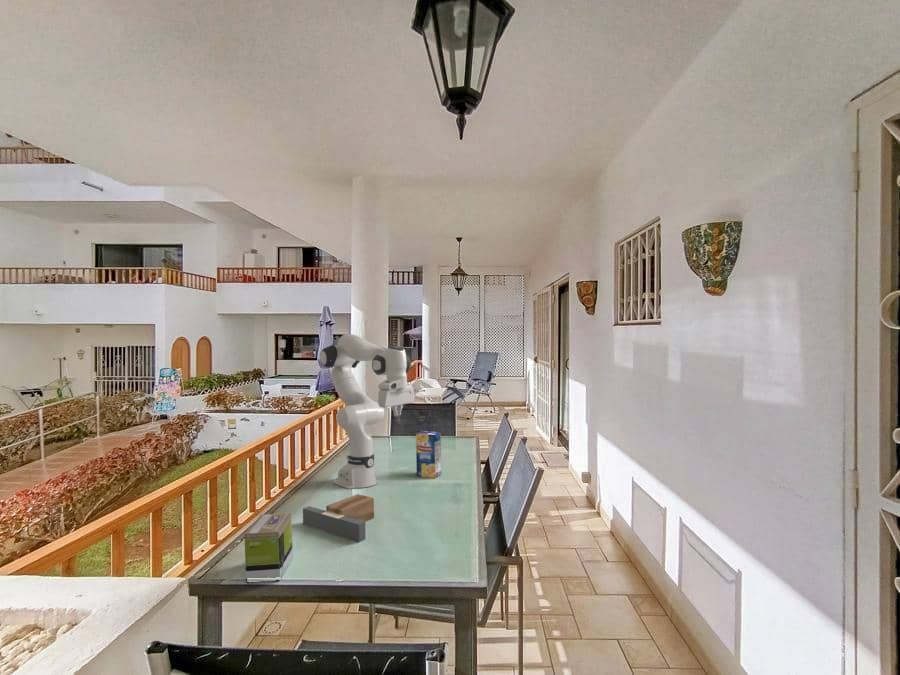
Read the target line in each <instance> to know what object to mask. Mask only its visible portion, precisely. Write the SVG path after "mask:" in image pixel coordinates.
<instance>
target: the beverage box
mask: <svg viewBox="0 0 900 675" xmlns="http://www.w3.org/2000/svg"><path fill="white" fill-rule="evenodd" d="M441 436H442V434H441V432H440V431H429V430H428V431H427V430H421V431H419V432H416V433H415V448H416V449H415V450H416V451H415V452H416V453H415V454H416V455H415V457H416V458H415V460H416V476H417V477H422V478H428V479H436V478H439V477H440V476H442V437H441Z"/></svg>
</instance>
